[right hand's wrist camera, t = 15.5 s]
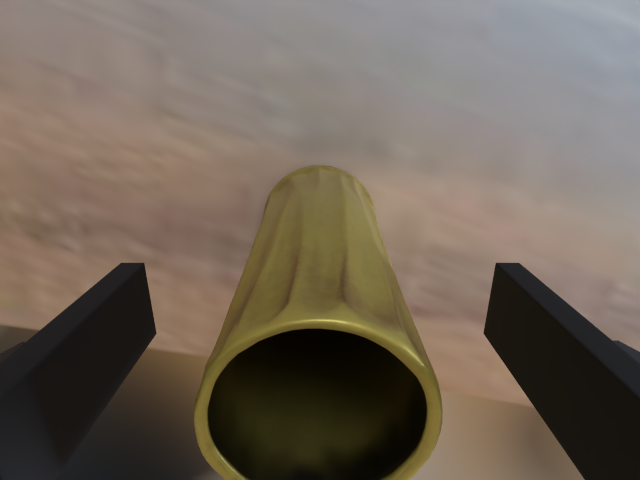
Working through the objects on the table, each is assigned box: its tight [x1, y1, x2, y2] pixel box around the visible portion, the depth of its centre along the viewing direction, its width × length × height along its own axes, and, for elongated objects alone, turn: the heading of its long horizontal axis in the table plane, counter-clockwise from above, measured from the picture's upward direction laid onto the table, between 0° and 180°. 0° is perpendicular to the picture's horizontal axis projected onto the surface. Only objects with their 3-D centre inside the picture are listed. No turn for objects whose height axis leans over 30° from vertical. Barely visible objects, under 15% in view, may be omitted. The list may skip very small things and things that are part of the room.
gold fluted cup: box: [193, 166, 442, 480], centre depth 15 cm, size 6×6×14 cm
